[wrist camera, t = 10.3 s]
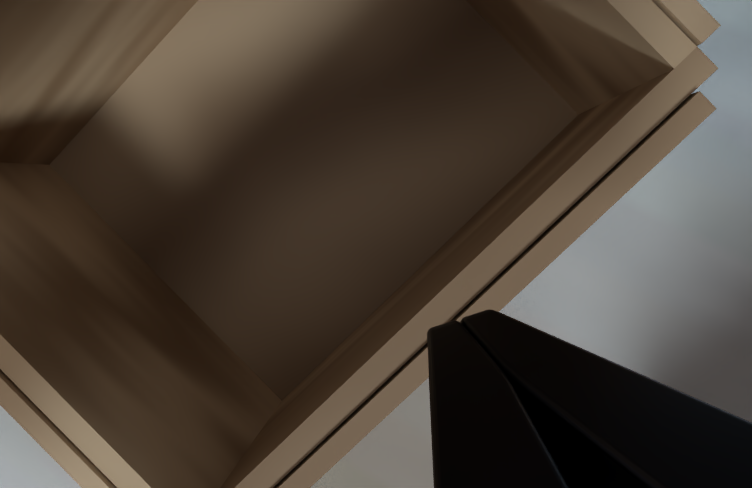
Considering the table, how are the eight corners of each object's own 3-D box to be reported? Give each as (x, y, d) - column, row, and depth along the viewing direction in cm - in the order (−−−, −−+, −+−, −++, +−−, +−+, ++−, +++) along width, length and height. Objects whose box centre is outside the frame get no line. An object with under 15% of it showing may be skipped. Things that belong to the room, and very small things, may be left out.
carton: (622, 116, 19) (760, 66, 11) (286, 436, 21) (191, 598, 13) (340, -170, 19) (270, -434, 11) (29, 175, 21) (-232, 170, 12)
